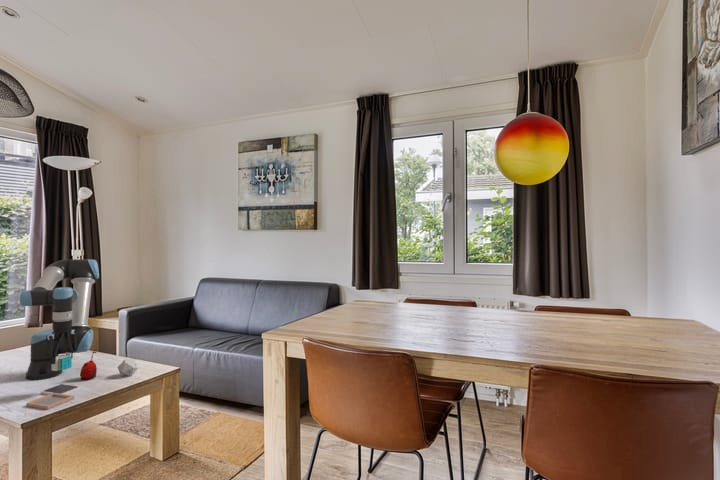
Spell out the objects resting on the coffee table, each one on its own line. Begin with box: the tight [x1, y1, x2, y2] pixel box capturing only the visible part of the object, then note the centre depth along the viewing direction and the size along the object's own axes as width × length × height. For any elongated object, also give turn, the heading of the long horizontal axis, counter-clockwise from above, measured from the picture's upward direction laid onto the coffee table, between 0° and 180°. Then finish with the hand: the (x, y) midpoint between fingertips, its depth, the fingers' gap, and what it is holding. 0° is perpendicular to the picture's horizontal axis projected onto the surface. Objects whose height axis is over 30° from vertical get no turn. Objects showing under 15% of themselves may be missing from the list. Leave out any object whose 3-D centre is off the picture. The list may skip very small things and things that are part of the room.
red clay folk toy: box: [79, 349, 98, 381], centre depth 205 cm, size 8×7×15 cm
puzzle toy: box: [51, 354, 73, 372], centre depth 187 cm, size 6×6×6 cm
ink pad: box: [40, 383, 82, 396], centre depth 187 cm, size 12×10×1 cm
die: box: [117, 358, 139, 377], centre depth 211 cm, size 8×9×10 cm
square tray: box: [26, 393, 75, 411], centre depth 175 cm, size 12×12×1 cm
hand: (61, 368), depth 187 cm, fingers closed on puzzle toy, 6 cm apart
